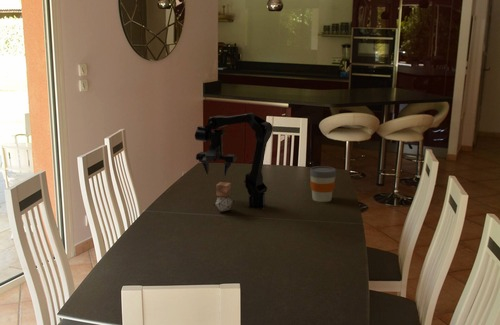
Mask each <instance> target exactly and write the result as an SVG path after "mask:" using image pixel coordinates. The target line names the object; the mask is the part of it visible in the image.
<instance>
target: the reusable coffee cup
mask: <svg viewBox="0 0 500 325" xmlns="http://www.w3.org/2000/svg"><path fill="white" fill-rule="evenodd" d="M309 176H310V180H309V183H310V184H309V186H310V190H311V195H312V196H311V197H312V200H313V201H315V202H318V203H328V202H331V201H332V198H333V191H335V185H336V177H337V169H336V168H334V167H332V166H325V165H317V166H312V167H311V168H310V171H309Z"/></svg>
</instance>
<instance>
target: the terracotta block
mask: <svg viewBox="0 0 500 325" xmlns="http://www.w3.org/2000/svg"><path fill="white" fill-rule="evenodd" d="M215 187H216V188H215V190H216V196H217V197H218V196H224V197H227V196H229V197H230V196H231V190H232V184H231V182H224V181H220V182H218V183H217V184H216V185H215Z"/></svg>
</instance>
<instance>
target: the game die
mask: <svg viewBox="0 0 500 325" xmlns="http://www.w3.org/2000/svg"><path fill="white" fill-rule="evenodd" d="M234 202H235V200H233V199H232V198H231V197H230V195H229V196H227V197H224V196H217V198H216V200H215V203H214V204H213V206H215V207H216V208H217V209H218V210H219V211H220V212H219V213H220V214H222V212H225V211H226V212H227V211H229V212H231V207H232V205H233V203H234Z"/></svg>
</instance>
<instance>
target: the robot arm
mask: <svg viewBox="0 0 500 325" xmlns="http://www.w3.org/2000/svg"><path fill="white" fill-rule="evenodd" d="M242 123H243V124H244V123H245V124H246V123H247V124H248V125H249V127H250V128H251V129H252V130H253V131H254V138H255V140H256V143H255V149H254V153H253V159H252V164H251V169H250V172H248V173H246V174H245V178H244V179H245V180H244V185H245V188H246V190H247V193H248V195H249V196H248V208H251V209H261V210H262V209H264V208H265V206H266V205H267V203H266V192H267V191H268V187H267V185H266V184H265V183H264V182H263V180H264V177H263V173H262V171H263V165H264V160H265V154H266V149H267V144H268V141H269V140H270V138H271V136H272V134H273V132H274V126H273V125H272V123H271V122H269V121H266V120H265V119H263V118H262V117H261V116H258V115H257V114H256V113H254V112H249V113H244V114H236V115H229V116H228V115H216V116H210V117H209V118H208V120H207V123H206V125H205V126H197V129H196V130H195V134H194V139H195V140H196V141H199V142H200V141H201V142H209V145H208V150H207V151H199V152H198V153H196V155H195V160H197V161H198V162H199V163H201V164H202V166H203V168H204V171H205V173H206V175H208V174H209V171H210V169H209V168H210V166H209V162H212V163H213V162H216V161H217V160H223V161H225V162H223V163H224V177H226V176H227V174H228V172H229V169H230V167H231V165H232V164H233V163H235V162H236V161H237V160H238V158H237V154H231V153H228V154H227V155H224V152H223V147H224V143H223V135H225V134H226V135H227V131H225V129H224V127H226V126H231V125H236V124H242ZM222 127H223V128H222ZM220 128H221V129H220Z"/></svg>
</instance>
